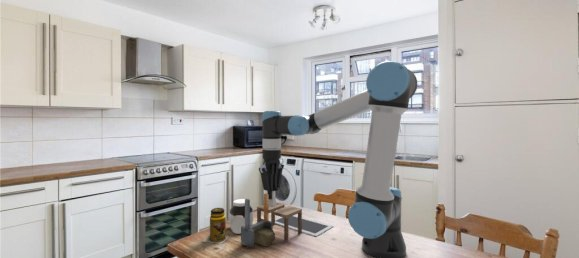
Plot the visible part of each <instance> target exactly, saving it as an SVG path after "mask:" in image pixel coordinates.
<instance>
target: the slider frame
mask: <svg viewBox="0 0 579 258" xmlns="http://www.w3.org/2000/svg"><path fill="white" fill-rule="evenodd" d="M244 199H245V227H244V226H242V227H241V233H240V237H241V238H240V243H241V244H242V245H245V246H248V247H249V248H254V247H255V243H254V230H255V229H258V228H260V227H264V228H267V229H270V230H273V229H274V227H273V226H274V225H273V222H271V220H269V219H270V217H269V214H270V213H269V194H267V193H266V192H265V193H263V205H264V212H263V218H261V219H260V222H258V223H257V222H256V223H254V224H252V225H251V226H250V206H251V200H250V199H249V198H244ZM273 231H274V230H273Z"/></svg>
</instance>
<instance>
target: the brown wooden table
mask: <svg viewBox="0 0 579 258" xmlns="http://www.w3.org/2000/svg"><path fill="white" fill-rule="evenodd" d="M262 212H263V213H264V204H262V205H259V206H256V223H258V222H260V219H262ZM269 214H270V215H271V216H270V221H271V222H273V226H275V219H276V216H277V217H283V218H284V226H283V238H284V240H283V241H284V242H288V241H289V228H288V218H289V217H291V216H293V215H296V216H298V231H297V234H299V235H301V234H303V232H302V217H303V209H302V208H300V207H295V206H291V205H288V206H285V204H284V203H281V202H276V207H269Z"/></svg>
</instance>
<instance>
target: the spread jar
mask: <svg viewBox="0 0 579 258" xmlns="http://www.w3.org/2000/svg"><path fill="white" fill-rule="evenodd" d="M245 199H246V198H240V199H239V198H238V199H235V200H233V205H232V206H231V208H230V209H229V213H228V215H229V218H228V219H229V220H228V221H229V224H230V230H231V231H232V232H233V233H234V234H237V235H238V234H240V235H241V227H242V226H244V227H245ZM253 223H254V209H253V207H252V206H251V205H250V226H251V225H253Z"/></svg>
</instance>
